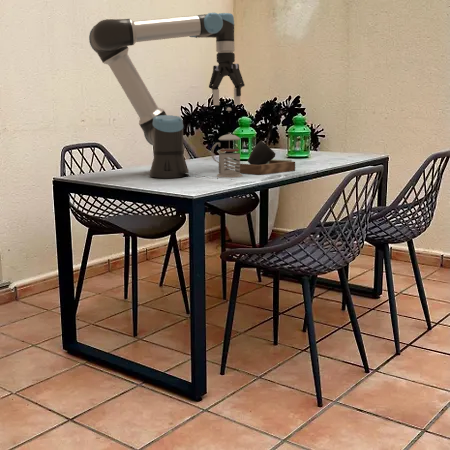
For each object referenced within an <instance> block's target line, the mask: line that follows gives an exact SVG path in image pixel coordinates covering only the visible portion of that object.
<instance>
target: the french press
mask: <svg viewBox="0 0 450 450" xmlns="http://www.w3.org/2000/svg"><path fill="white" fill-rule="evenodd" d="M226 111H228V112H230V111H232V108H231V107H227V108H226ZM218 140H219V141H228V148H221V142H215V144H214V145H213V146H212V147H211V158H212V159H213V161H215V162H216V163H217V164H218V174H217V175H216V177H219V178H238V177H239V178H240V177H243V176H244V175H243V173H240V164H241V152H240V153H239V152H238V151H239V150H240V149H239V148H230V146H231V145H230V141H239V140H241V137H239V136H237V135H235V134H231V133H228V134H224V135H221V136H219V138H218ZM217 145H218V147H220V149H219V151H220V152H222V153H219V154H218V160H216V158H215V155H214V154H213V151H214V150H215V148H216V147H217ZM235 166H236V167H235ZM235 170H236V171H235Z"/></svg>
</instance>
